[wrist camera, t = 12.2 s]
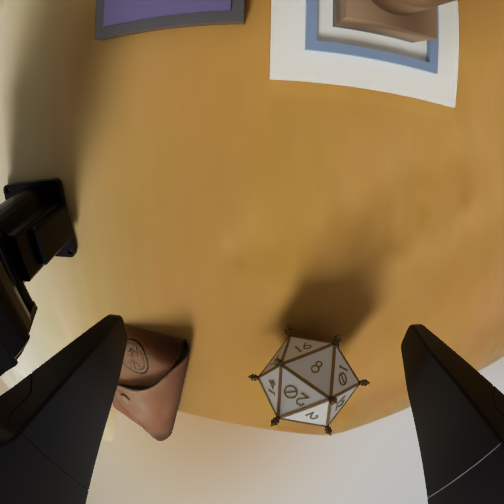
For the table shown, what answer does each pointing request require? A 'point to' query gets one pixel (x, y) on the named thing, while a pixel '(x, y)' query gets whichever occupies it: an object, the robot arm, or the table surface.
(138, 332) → the sunglasses case
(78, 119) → the table surface
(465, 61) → the table surface
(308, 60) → the print card
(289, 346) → the game die
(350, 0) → the stamp
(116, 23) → the ink pad
